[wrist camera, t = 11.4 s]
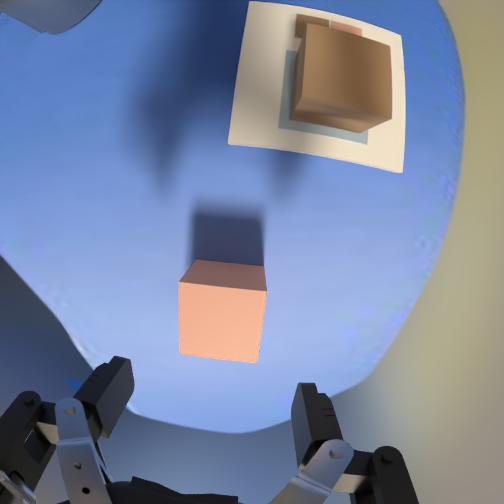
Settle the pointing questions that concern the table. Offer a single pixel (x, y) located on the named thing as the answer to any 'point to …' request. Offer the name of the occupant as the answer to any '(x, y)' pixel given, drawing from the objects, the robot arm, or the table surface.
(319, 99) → the walnut block
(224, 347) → the coral block
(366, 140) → the board
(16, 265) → the table surface
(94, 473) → the robot arm
